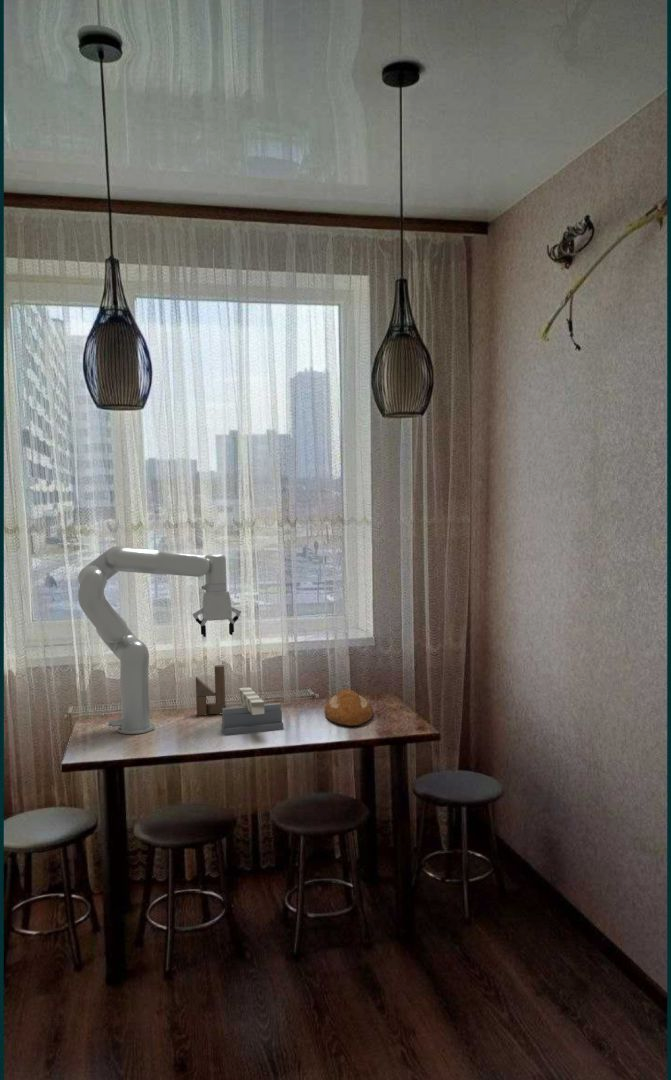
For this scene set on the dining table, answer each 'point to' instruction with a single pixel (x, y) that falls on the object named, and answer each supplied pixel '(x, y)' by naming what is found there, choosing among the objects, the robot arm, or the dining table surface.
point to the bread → (348, 708)
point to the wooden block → (211, 694)
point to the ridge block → (251, 719)
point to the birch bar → (251, 701)
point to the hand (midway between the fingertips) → (217, 635)
